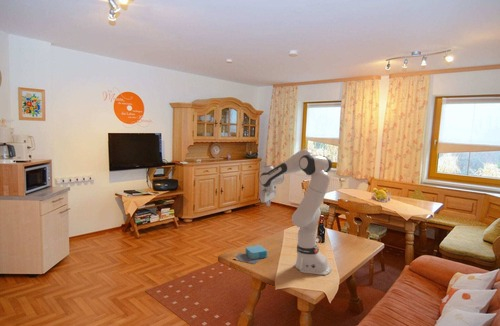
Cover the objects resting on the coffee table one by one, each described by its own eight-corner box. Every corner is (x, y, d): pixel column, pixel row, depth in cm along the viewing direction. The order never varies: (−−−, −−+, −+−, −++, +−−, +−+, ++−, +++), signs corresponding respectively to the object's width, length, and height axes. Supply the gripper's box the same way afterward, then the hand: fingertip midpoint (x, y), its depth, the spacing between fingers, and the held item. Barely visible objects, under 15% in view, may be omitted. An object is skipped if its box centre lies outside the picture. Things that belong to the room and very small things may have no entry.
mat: (261, 257, 210) (261, 257, 210) (254, 264, 200) (254, 263, 200) (239, 253, 217) (239, 252, 217) (232, 259, 208) (232, 259, 208)
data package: (244, 253, 216) (251, 259, 205) (244, 247, 216) (251, 253, 205) (260, 250, 221) (267, 256, 210) (260, 244, 221) (267, 250, 210)
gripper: (265, 190, 216) (266, 209, 217) (277, 185, 234) (277, 203, 235) (257, 189, 219) (258, 208, 220) (269, 185, 237) (270, 202, 238)
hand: (268, 205), depth 228 cm, fingers closed
